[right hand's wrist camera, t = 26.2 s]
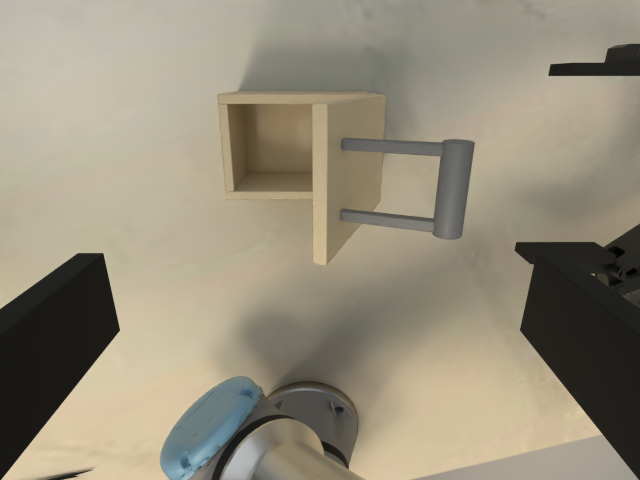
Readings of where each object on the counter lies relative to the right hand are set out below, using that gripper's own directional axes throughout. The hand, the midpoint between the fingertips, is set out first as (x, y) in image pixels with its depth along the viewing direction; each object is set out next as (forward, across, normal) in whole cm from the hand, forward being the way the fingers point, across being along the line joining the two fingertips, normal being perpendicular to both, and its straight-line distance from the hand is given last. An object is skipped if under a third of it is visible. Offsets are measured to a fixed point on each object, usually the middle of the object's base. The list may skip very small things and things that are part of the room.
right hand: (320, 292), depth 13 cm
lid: (+20, -2, 0) cm, 20 cm away
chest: (+37, +2, 0) cm, 37 cm away
